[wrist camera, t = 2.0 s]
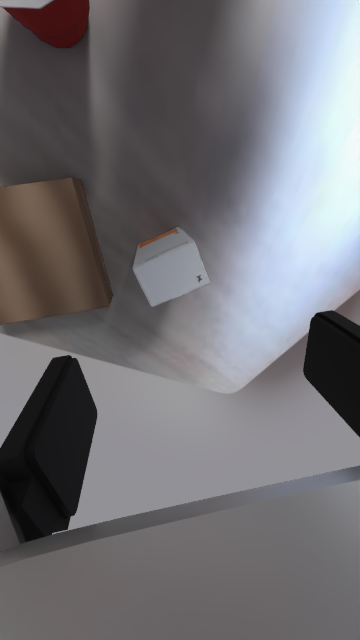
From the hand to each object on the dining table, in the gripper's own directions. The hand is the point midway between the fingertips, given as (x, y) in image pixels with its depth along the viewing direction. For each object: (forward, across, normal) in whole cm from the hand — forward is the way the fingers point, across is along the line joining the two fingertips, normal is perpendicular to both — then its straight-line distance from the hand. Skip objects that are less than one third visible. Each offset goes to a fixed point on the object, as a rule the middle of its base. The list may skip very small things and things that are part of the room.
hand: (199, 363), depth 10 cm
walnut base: (+25, +15, -2) cm, 29 cm away
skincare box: (+25, 0, 0) cm, 25 cm away
